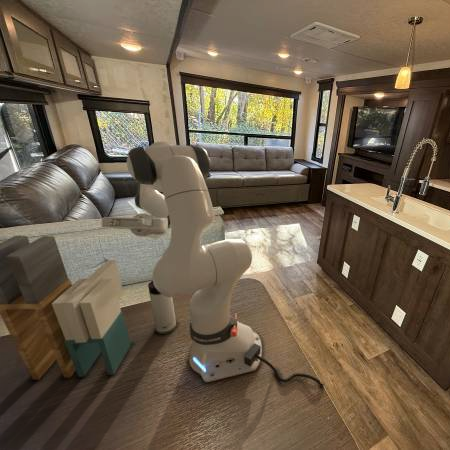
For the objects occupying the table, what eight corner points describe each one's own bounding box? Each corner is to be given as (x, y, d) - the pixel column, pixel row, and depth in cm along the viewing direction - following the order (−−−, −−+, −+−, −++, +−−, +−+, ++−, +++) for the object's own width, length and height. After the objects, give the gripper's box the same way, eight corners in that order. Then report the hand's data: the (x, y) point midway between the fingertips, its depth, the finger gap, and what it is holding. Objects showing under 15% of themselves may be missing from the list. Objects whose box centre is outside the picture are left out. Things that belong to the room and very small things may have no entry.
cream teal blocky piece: (130, 345, 79) (114, 278, 69) (113, 374, 70) (91, 302, 60) (99, 346, 78) (78, 278, 68) (78, 376, 69) (49, 303, 59)
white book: (123, 294, 81) (115, 260, 76) (86, 342, 63) (72, 302, 58) (115, 294, 80) (107, 260, 75) (75, 342, 63) (60, 302, 58)
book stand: (92, 346, 78) (55, 236, 62) (70, 377, 69) (20, 256, 53) (60, 348, 76) (14, 235, 61) (32, 379, 67) (-30, 256, 52)
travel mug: (169, 336, 84) (161, 288, 76) (151, 331, 85) (142, 284, 77) (180, 322, 89) (174, 277, 82) (164, 318, 90) (157, 273, 83)
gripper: (115, 216, 94) (91, 210, 81) (172, 218, 98) (158, 212, 84) (113, 232, 94) (89, 229, 80) (170, 234, 97) (156, 230, 84)
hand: (124, 220), depth 82 cm, fingers open, 8 cm apart
